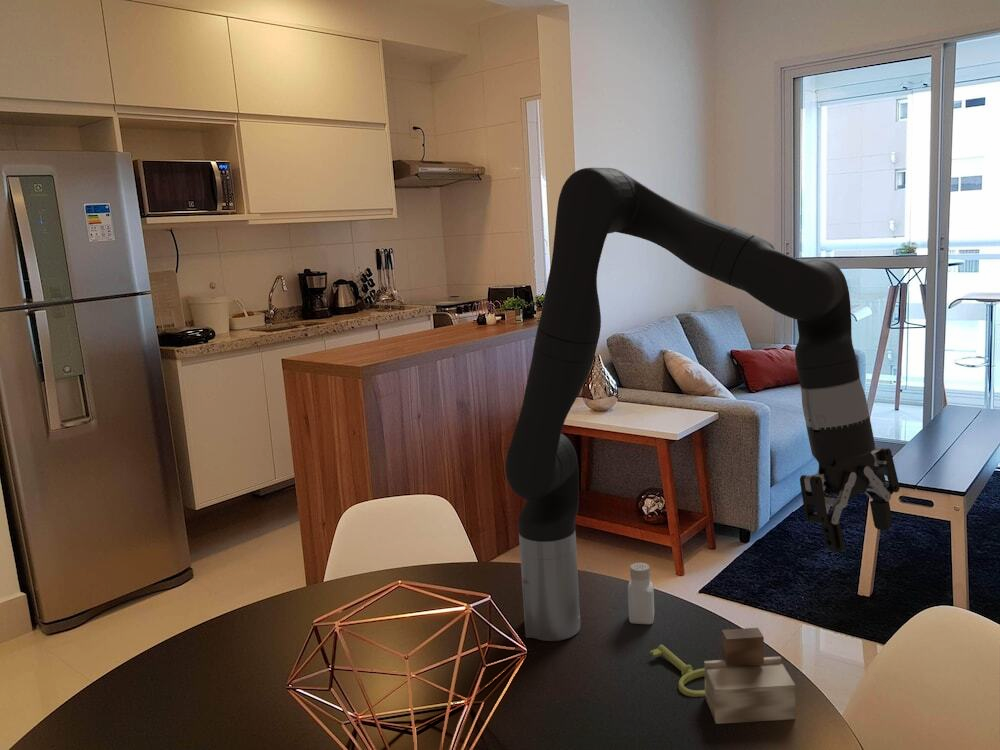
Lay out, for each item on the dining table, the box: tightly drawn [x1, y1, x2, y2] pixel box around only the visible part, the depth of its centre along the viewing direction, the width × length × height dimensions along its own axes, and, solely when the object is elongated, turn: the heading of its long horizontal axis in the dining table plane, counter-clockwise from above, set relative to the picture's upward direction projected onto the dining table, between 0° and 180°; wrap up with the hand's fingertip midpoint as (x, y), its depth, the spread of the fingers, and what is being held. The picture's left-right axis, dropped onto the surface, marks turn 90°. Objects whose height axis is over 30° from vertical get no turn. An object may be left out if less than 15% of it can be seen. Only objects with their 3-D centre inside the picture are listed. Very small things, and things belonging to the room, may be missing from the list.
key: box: [649, 644, 706, 698], centre depth 120 cm, size 7×12×2 cm, turn 45°
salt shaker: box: [627, 562, 655, 625], centre depth 136 cm, size 4×4×10 cm
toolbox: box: [705, 663, 796, 725], centre depth 110 cm, size 10×5×5 cm, turn 90°
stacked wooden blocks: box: [703, 627, 783, 698], centre depth 111 cm, size 10×6×9 cm, turn 90°
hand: (860, 539), depth 104 cm, fingers open, 8 cm apart
